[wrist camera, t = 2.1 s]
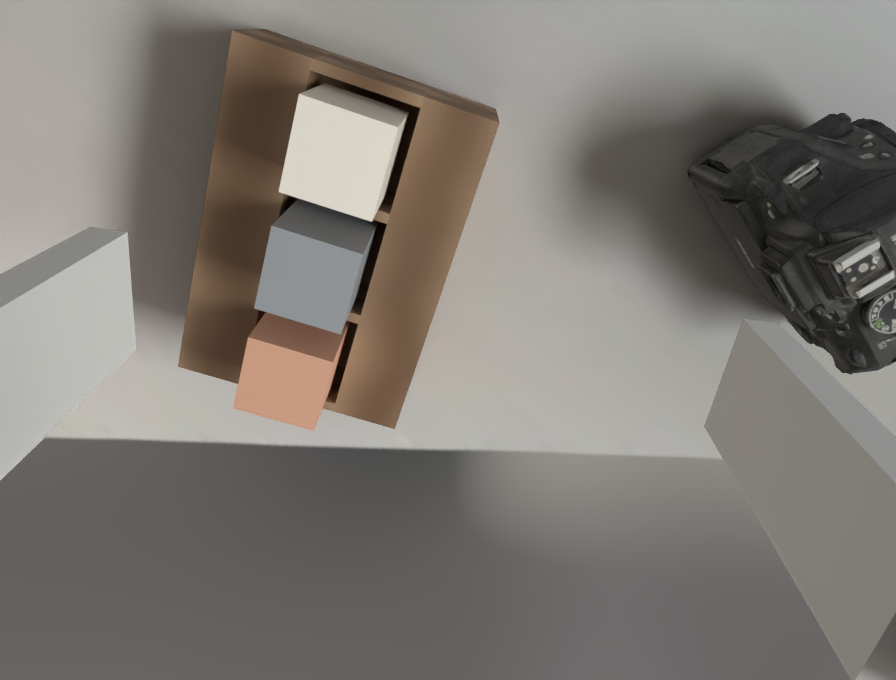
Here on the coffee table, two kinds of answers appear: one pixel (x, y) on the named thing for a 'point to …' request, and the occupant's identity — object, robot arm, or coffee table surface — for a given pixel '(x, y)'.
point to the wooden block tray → (260, 203)
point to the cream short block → (342, 150)
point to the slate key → (314, 265)
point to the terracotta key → (288, 370)
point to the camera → (815, 228)
